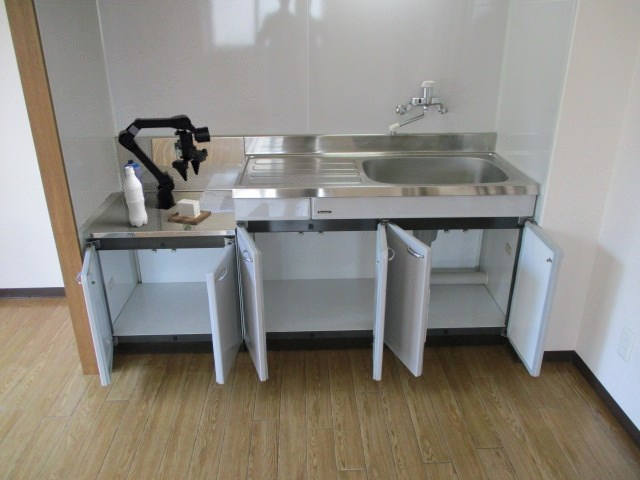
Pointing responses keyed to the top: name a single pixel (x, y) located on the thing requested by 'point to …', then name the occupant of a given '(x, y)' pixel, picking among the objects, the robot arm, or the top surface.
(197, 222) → the board
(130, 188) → the water bottle
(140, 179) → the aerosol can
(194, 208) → the block
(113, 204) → the top surface
